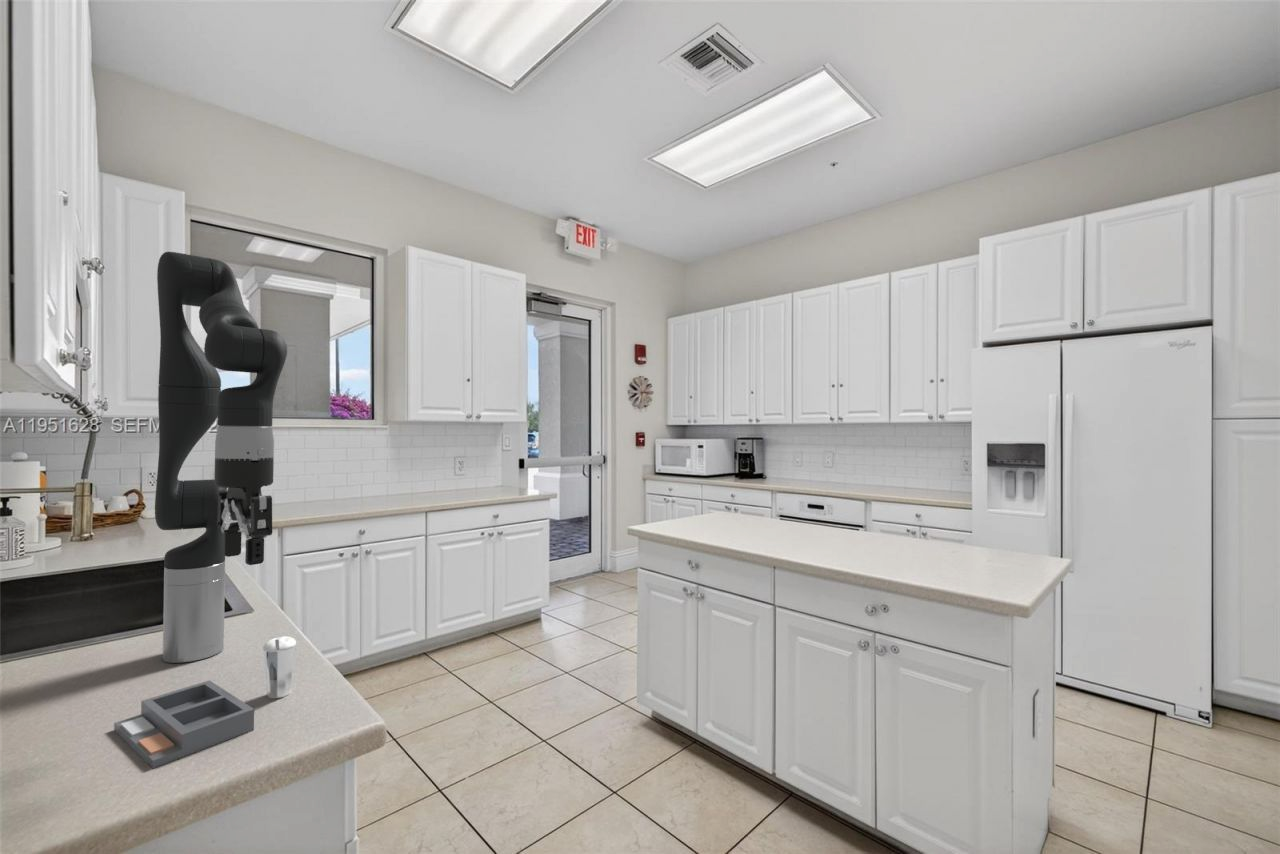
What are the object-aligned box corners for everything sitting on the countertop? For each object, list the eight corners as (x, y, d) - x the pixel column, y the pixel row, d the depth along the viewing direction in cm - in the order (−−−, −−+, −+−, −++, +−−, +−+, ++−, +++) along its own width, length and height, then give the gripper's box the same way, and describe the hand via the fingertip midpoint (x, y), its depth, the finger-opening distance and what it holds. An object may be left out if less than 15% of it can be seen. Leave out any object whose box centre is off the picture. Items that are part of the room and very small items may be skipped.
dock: (114, 729, 82) (114, 708, 82) (209, 699, 91) (209, 680, 91) (152, 768, 73) (153, 744, 73) (253, 729, 82) (254, 709, 82)
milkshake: (258, 705, 89) (259, 641, 90) (265, 690, 94) (266, 630, 94) (292, 700, 91) (293, 637, 91) (297, 686, 96) (298, 626, 96)
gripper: (199, 454, 90) (197, 557, 90) (235, 458, 81) (233, 571, 81) (253, 453, 96) (251, 549, 96) (292, 456, 87) (290, 562, 87)
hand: (243, 559), depth 88 cm, fingers open, 8 cm apart
